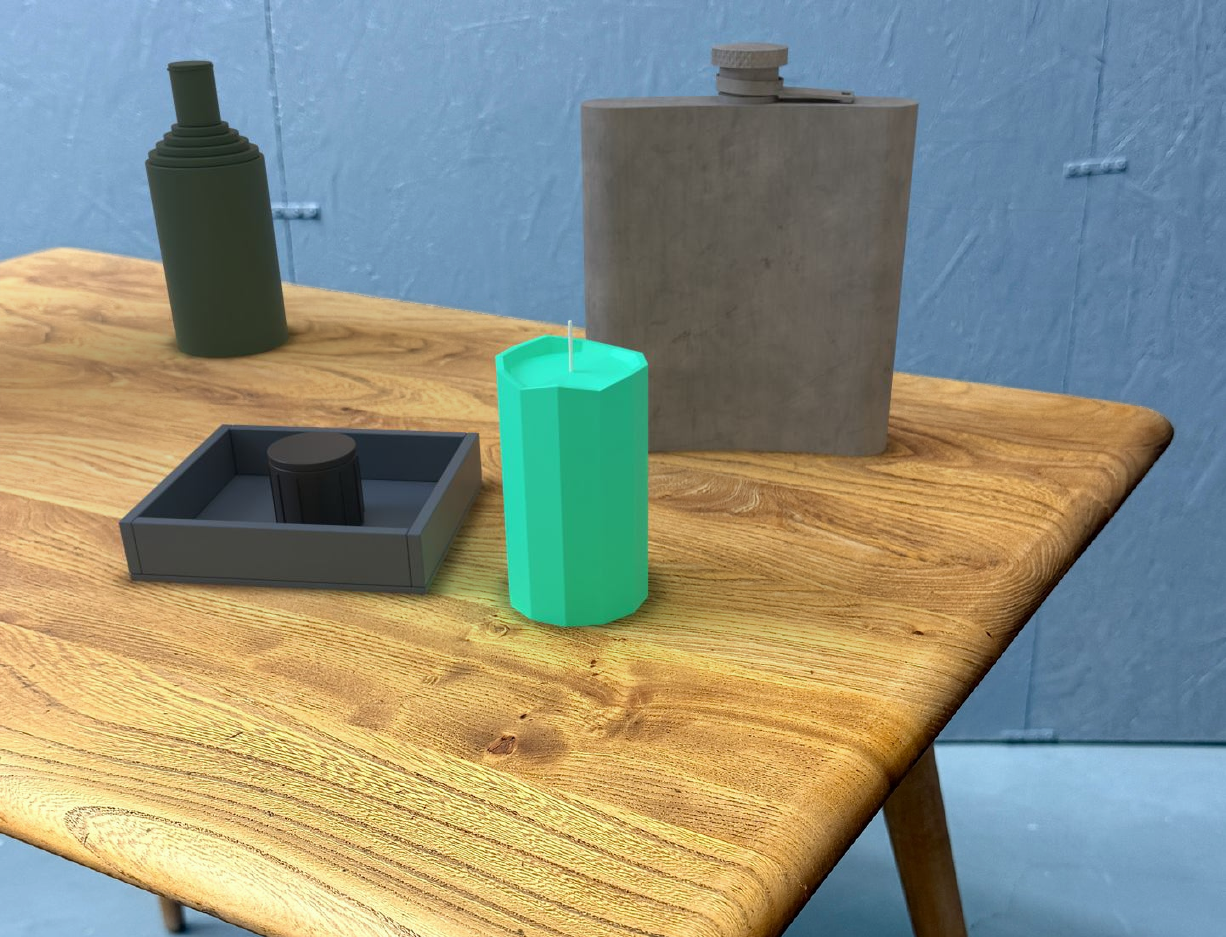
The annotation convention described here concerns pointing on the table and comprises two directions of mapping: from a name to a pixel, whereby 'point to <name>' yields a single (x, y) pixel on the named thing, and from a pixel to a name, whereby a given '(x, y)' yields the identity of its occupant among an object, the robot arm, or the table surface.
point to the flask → (215, 227)
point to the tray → (305, 553)
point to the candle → (574, 478)
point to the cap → (316, 480)
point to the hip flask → (751, 255)
